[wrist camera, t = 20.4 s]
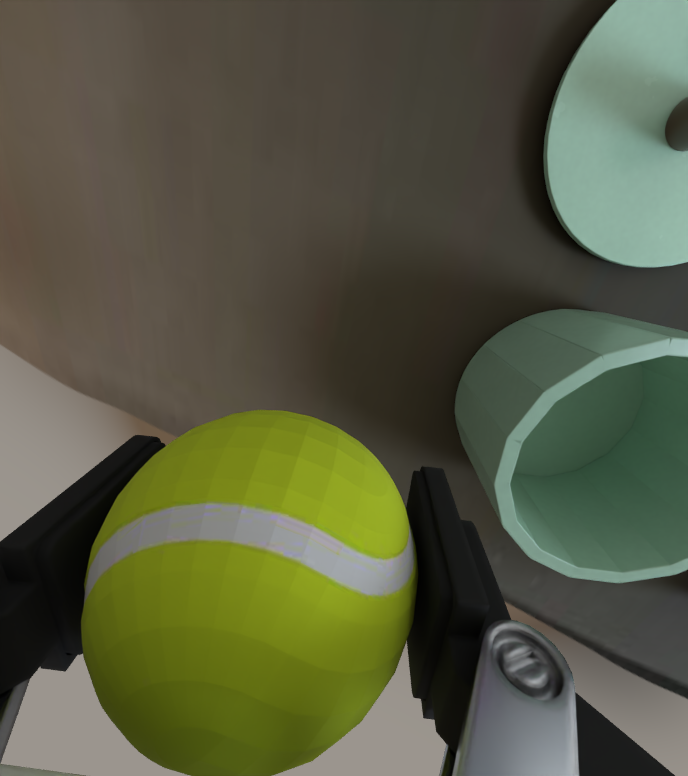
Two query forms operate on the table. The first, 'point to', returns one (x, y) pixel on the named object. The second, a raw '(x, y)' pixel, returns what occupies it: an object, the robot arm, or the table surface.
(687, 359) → the pot
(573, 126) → the pot lid
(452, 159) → the table surface
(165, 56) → the table surface
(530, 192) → the table surface
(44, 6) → the table surface
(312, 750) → the tennis ball
